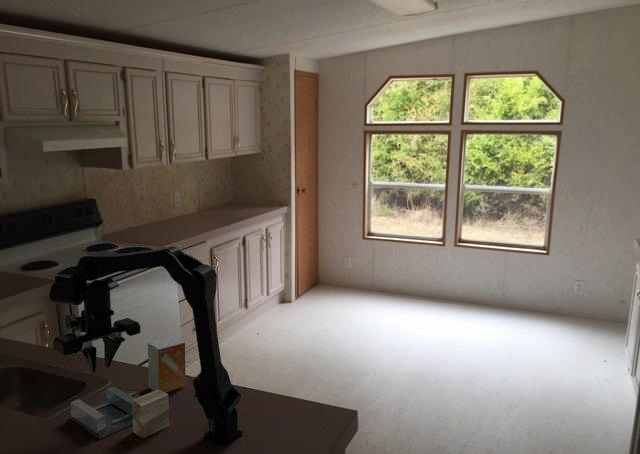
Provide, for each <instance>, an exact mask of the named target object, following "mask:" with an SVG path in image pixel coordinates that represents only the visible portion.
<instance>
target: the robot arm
mask: <svg viewBox="0 0 640 454" xmlns="http://www.w3.org/2000/svg"><path fill="white" fill-rule="evenodd" d="M76 267H77V268H76V269H75V271H74V272H73V273H72V275H67V274H63V273H62V274H58V275H56V276H55V277H54V282H52V285H51V286H50V290H49V291H48V292H49V293H48V294H49V299H50V301H51V302H52V303H53V304H56V305H57V304H58V305H70V306H80V305H81V304H82V303H83V309H82V310H81V312H80V316H77V315H76V313H73V314H69V315H65V316H64V324H65V325H64V326H65V328H66V330H69V329H73V330H74V332H77V331H79V332H80V333H82V335H78V336H77V335H75V334H73V333H71V332H70V333H66V334H62V335H59V336H55V338H54V339H53V341H52V349H53V350H54V351H56V352H58V353H59V354H62V355H63V356H69V355H72V354H76V353H80V352H81V354H82V355H83V357H84V359H85V362H86V363H87V365H88V367H89V369H90V371H91V373H93V374H95V373H96V372H97V371H96V370H97V347H96V346H94V345H93V344H94V343H93V342H94V341H97V340H100V339H102V342H103V344H104V345H103V346H104V349H103V350H104V352H103V353H104V355H103V356H104V360H103V361H104V367H105V368H107V369H108V368H110V366H111V363H112V361H113V360H114V358H115V356H116V353H117V351H118V350H119V348H120V346H121V345H122V343H123V342H125V341H126V338H125V337H123V334H122V333H125V334H126V335H127V336H129V337H133V336H136V335H139V334H141V333H142V332H141V324H140V323H139V322H138V321H136V320H134V319H131V318H129V317H126V318H122V319H118V320H115V321H114V322H113V326H112V316H115V311H114V310H113V309H112V304H111V303H112V302H111V301H112V300H111V290H113V289H116V288H119V286H120V284H119V283H118V282H117V281H116V280H114V279H113V278H112V277H111V276H110V275H113V274H116V273H119V272H127V271H129V272H130V271H134V270H135V271H136V270H144V269H152V268H159V267H162V268H163V269H165V270H166V271H167V273H168V274H169V276H170V278H172V280H173V281H174V282H176V284H178V285H179V286H181V289H182V293H183V296H184V298H185V300H186V302H187V303H188V305H189V306H190V308H191V310H192V316H193V324H194V328H195V336H196V342H197V343H196V345H197V350H198V351H197V352H198V357H199V364H200V372H199V373H198V375H196V376H195V377H194V379H193V380H192V383H193V384H192V385H193V387H194V398H195V399H197V402H198V404H199V406H200V407H202V409H203V411H204V414H205V418H206V419H208V431H206V432H204V433H203V437H204V438H207V439H208V440H210V441H212V442H214V443H215V444H217V445H218V446H220V447H222V446H225V445H227V444H228V443H230V442H232V441H233V440H236V439H237V438H240V437H241V436H243V434H244V432H243V431H241V429H239V428H238V419H239V418H238V411H237V409H236V407H237V405H238V404H239V403H240V401H241V398H242V394H241V393H240V392H239V391H238V390H237V389H236V388H235V387H234V386H233V385H232V382H231V379H230V375H229V373H228V370H227V369H226V368H225V366H224V365H223V362H222V357H221V350H220V342H219V335H218V328H217V321H216V313H215V307H214V302H215V297H216V293H217V283H218V276H217V275H218V274H217V271H216V270H215V269H214V268H213V267H212V266H210V265H208V264H204V263H203V262H202V261H200V259H197V258H196V257H193V256H191V255H189V254H187V253H186V252H184V251H183V250H181V249H180V248H178V247H177V246H174V245H173V246H168V247H164V248H155V249H149V250H148V249H147V250H141V251H134V252H133V251H132V252H127V253H119V252H115V251H105V250H104V251H103V250H101V251H98V252H95V253H90V254H88V255H85V256H83V257H80V258H79V260H78V262H77V266H76ZM107 276H110V277H108V278H105V277H107ZM103 277H104V278H105V279H104V280H103V279H102V280H101V278H103ZM83 333H85V334H83Z"/></svg>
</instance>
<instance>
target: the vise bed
mask: <svg viewBox="0 0 640 454" xmlns="http://www.w3.org/2000/svg"><path fill="white" fill-rule="evenodd" d="M125 393H126V394H128V395H130V396H132V397H134V398H135V399H136V398H139V397H141V396H142V395H141V394H139V393H138V392H137V391H134V390H132V389H131V390H129V391H126V392H125ZM69 419H70V420H72V421H73V422H74V423H75V424H77V425H79V426H80V427H82V428H83V429H84V430H86V432H88V433H90V434H92V435H93V436H94V437H96V438H97V439H98V438H99V440H101V438H102V439H103V438H105V437H108V436H110V435H113V434H115V433H117V432H119V431H122V430H124V429H126V428H129V427H130V426H133V416H132V415H130V414H128V413H127V412H125V411H123V410H122V409H120V408H118V407H117V406H115V405H113V404H112V403H110V402H109V401H107V399H106V400H102V401H100V402H98V403H95V404H92V405H89V404H87V403H86V402H84V401H83V400H81V399H80V398H78V399H75V400H73V401H70V414H69Z"/></svg>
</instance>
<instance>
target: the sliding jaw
mask: <svg viewBox="0 0 640 454" xmlns="http://www.w3.org/2000/svg"><path fill="white" fill-rule="evenodd" d="M105 390H106V391H105V392H106V400H107V401H109V402H110V403H112V404H113V405H115V406H117V407H118V408H120V409H122V410H123V411H125V412H127V413H128V414H130V415H132V416H133V410H132V400H134V399H135V398H134V397H132V396H130V395H128V394H126V392H125V391H123V390H121V389H119V388H118V387H116V386H111V387H107V388H106V389H105Z"/></svg>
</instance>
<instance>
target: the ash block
mask: <svg viewBox="0 0 640 454" xmlns="http://www.w3.org/2000/svg"><path fill="white" fill-rule="evenodd" d="M169 397H170V396H169V394H168V392H167V393H165V392H163V391H161V390H159V389H158V390H156V391H153V390H152V391H150V392H149V393H146V394H144V395H141V397H139V398H136V399H134V400H132V410H133V425H132V430H133V431H132V432H133V434H136V436H139V437H140V438H142V439H146V438H147V437H149V436H151V435H154V434H156V433H158V432H160V431H162V430H164V429H166V428H169V427H170V406H169V405H170V398H169Z"/></svg>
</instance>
